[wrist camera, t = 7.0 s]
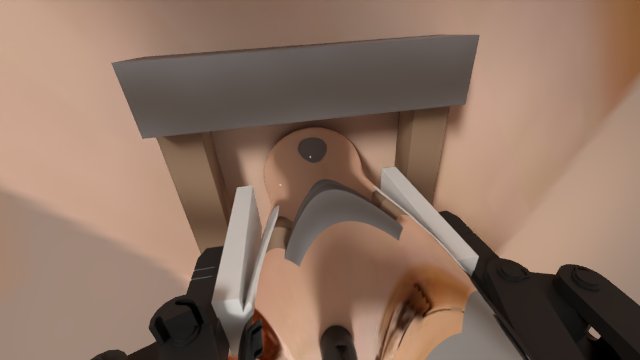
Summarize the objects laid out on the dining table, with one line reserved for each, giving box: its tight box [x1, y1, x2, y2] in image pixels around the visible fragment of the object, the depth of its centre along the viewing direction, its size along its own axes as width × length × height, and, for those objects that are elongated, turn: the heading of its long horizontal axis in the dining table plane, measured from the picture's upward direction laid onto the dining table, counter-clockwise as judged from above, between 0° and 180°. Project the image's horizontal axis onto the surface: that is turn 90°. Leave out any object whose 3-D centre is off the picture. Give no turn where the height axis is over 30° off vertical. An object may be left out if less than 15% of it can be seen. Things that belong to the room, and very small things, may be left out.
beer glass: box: [237, 127, 535, 360], centre depth 10 cm, size 7×7×15 cm
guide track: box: [112, 35, 479, 254], centre depth 19 cm, size 26×15×3 cm, turn 4°
